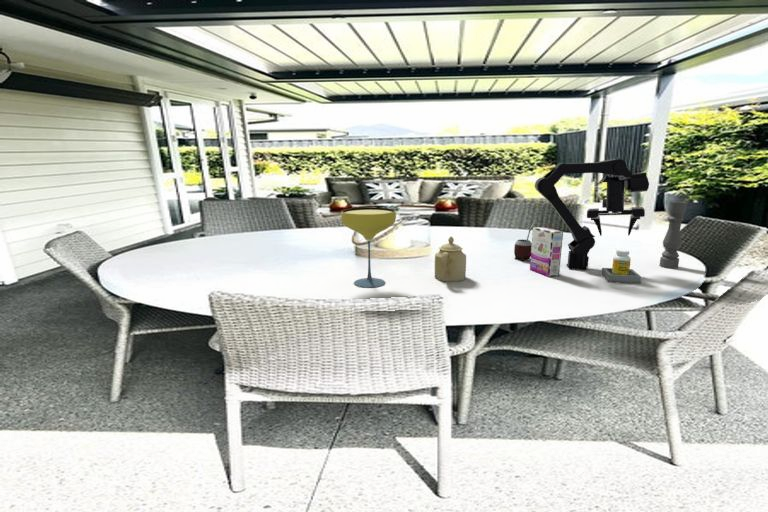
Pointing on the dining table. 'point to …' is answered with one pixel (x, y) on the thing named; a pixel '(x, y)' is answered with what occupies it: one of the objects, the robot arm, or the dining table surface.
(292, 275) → the dining table surface
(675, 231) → the candle holder
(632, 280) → the tray
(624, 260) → the supplement bottle
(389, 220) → the cocktail glass
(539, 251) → the candy bar box
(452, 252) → the sugar bowl
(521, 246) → the mate gourd
